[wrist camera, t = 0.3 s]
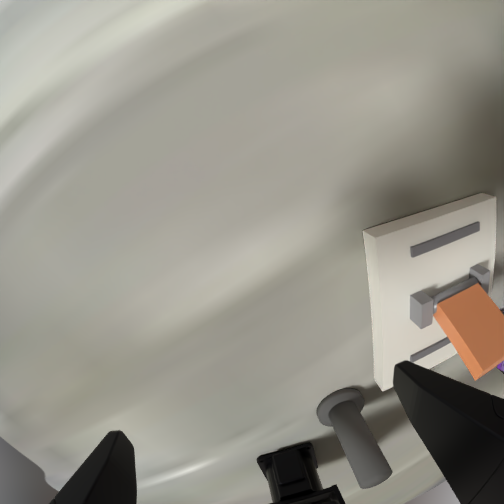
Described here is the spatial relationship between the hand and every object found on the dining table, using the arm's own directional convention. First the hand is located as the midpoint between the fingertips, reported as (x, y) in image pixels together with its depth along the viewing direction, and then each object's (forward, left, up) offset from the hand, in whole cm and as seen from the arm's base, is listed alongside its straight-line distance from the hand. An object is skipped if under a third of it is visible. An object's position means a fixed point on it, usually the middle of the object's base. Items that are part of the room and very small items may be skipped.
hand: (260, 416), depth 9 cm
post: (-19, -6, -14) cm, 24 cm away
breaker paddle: (-8, -17, -11) cm, 22 cm away
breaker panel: (-9, -17, -14) cm, 24 cm away
